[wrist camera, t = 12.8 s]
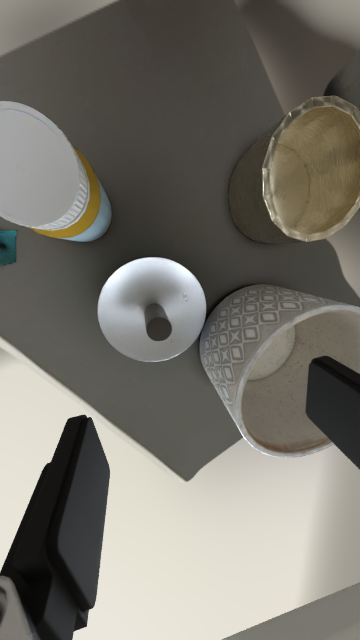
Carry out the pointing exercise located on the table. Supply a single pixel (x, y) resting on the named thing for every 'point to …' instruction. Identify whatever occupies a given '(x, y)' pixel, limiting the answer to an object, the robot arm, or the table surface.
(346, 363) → the planter
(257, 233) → the pot
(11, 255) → the figurine
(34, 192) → the bottle
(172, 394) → the table surface
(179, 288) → the lid
